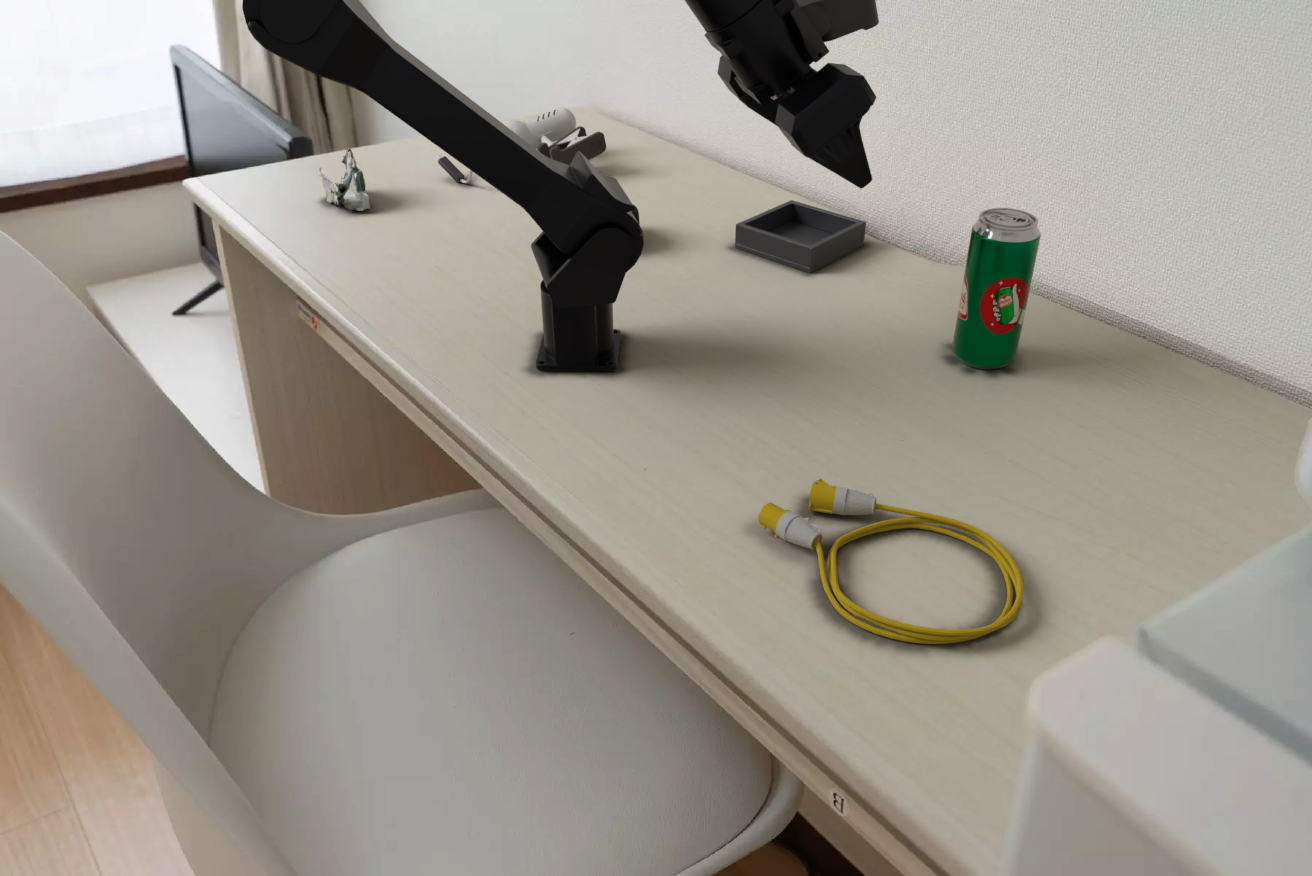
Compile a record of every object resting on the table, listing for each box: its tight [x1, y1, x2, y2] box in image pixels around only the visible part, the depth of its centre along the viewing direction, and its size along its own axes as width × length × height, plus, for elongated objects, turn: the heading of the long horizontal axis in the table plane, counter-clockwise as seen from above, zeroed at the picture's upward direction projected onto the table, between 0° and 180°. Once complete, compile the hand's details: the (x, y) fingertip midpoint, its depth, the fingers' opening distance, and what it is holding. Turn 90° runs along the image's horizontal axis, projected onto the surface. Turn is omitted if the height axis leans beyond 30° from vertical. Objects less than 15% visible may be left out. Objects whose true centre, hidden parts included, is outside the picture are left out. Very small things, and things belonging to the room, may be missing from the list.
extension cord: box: [757, 478, 1024, 645], centre depth 64 cm, size 12×16×2 cm
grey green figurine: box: [318, 147, 371, 212], centre depth 115 cm, size 4×8×7 cm, turn 31°
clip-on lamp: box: [436, 106, 607, 184], centre depth 124 cm, size 12×6×18 cm
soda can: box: [951, 207, 1042, 370], centre depth 84 cm, size 5×5×12 cm
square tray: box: [734, 199, 867, 274], centre depth 106 cm, size 9×9×2 cm
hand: (843, 165), depth 85 cm, fingers open, 9 cm apart
